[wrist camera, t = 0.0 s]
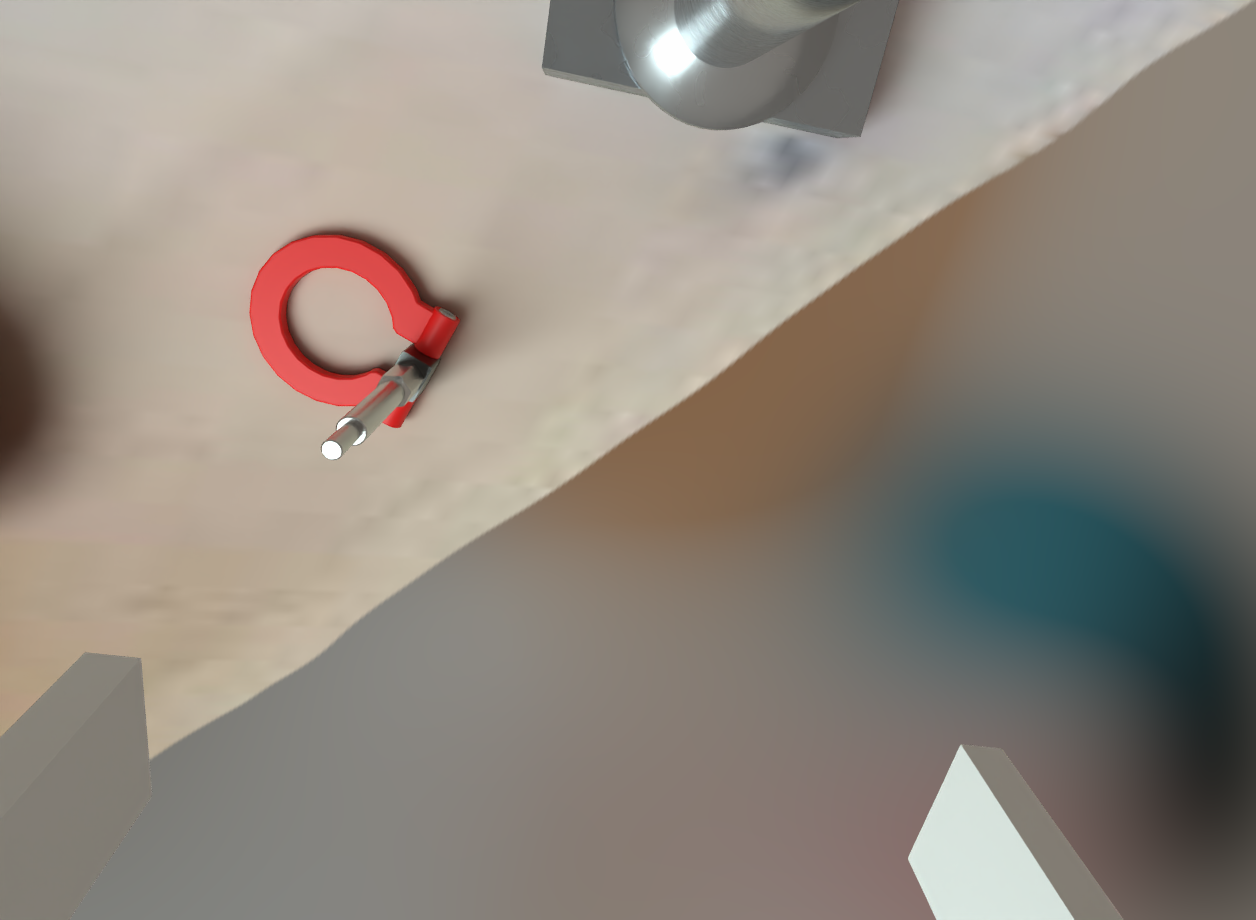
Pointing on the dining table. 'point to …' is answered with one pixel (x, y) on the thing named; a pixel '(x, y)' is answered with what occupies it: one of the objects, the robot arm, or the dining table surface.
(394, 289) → the tow hook
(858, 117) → the rosette post
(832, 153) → the dining table surface
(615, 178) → the dining table surface
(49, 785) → the robot arm
